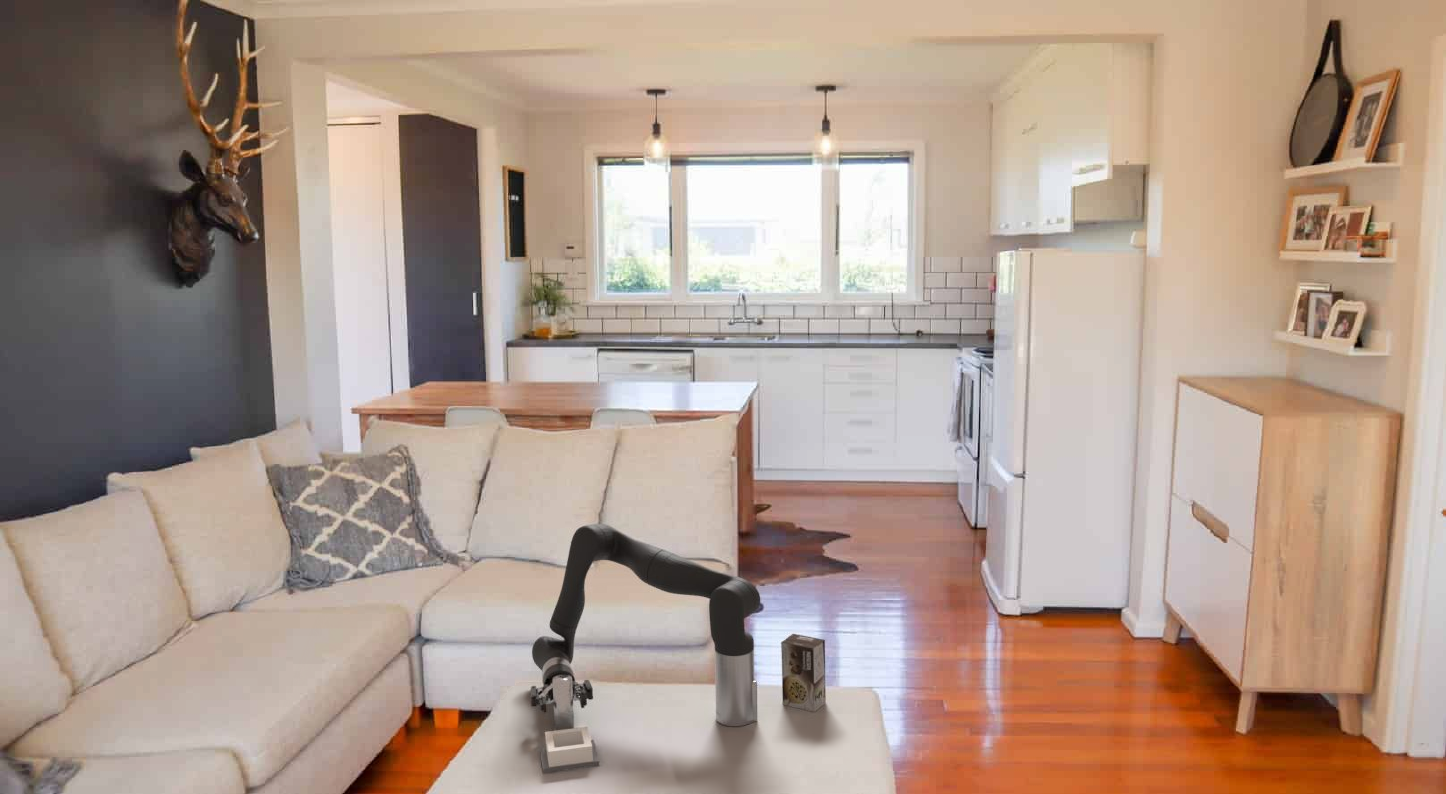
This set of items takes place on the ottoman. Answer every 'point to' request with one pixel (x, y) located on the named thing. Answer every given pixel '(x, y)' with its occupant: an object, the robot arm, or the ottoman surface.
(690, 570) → the robot arm
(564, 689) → the silver metal cylinder
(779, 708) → the ottoman surface
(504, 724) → the ottoman surface
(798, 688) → the cookie box
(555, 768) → the dock
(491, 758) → the ottoman surface
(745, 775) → the ottoman surface
